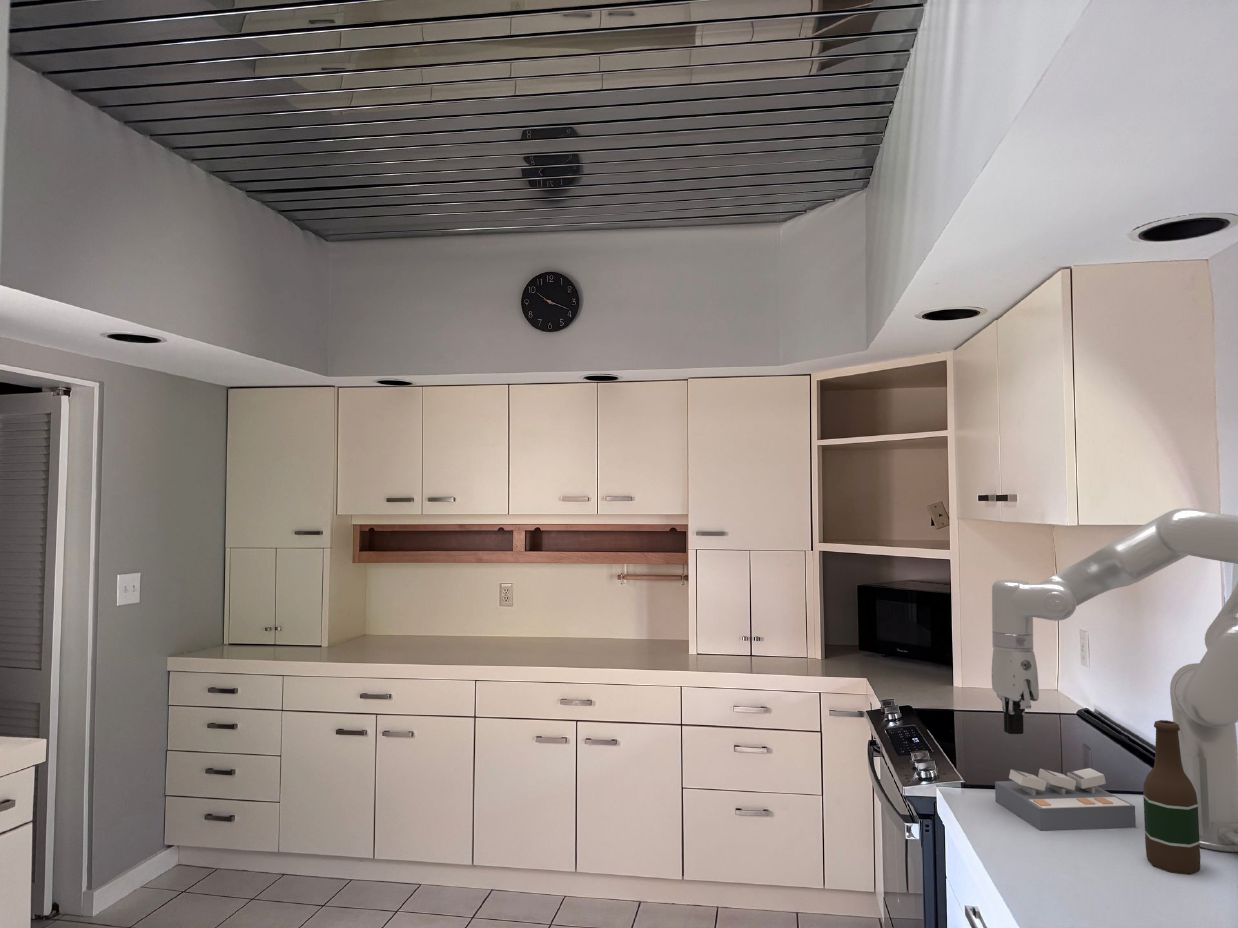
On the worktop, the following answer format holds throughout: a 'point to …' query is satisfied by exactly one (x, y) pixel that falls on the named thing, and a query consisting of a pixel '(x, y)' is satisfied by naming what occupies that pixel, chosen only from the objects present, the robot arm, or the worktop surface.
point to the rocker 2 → (1087, 778)
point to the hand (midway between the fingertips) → (1013, 732)
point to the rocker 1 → (1027, 780)
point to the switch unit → (1065, 807)
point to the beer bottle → (1170, 807)
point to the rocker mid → (1057, 779)
